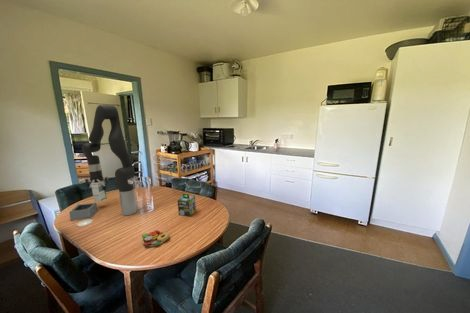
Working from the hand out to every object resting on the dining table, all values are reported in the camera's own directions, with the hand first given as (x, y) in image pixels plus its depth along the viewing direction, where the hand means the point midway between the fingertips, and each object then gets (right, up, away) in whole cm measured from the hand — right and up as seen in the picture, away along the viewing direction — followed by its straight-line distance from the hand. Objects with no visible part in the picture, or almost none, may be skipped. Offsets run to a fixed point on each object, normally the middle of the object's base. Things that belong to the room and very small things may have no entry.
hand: (99, 191), depth 143 cm
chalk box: (+68, -14, -7) cm, 69 cm away
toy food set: (+57, -21, -37) cm, 71 cm away
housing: (-3, -15, -9) cm, 18 cm away
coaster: (+5, -17, -19) cm, 26 cm away
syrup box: (0, -7, +1) cm, 7 cm away
